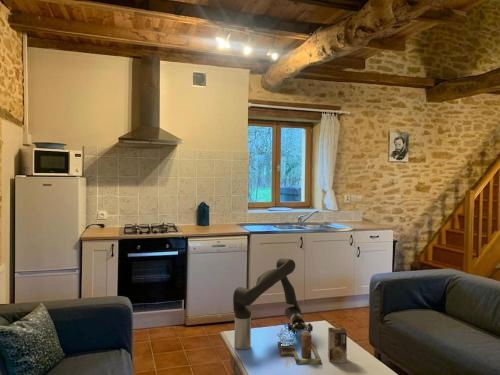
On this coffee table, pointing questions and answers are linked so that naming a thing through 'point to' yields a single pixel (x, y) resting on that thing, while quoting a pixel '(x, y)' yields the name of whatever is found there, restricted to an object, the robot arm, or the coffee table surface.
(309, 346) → the walnut block
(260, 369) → the coffee table surface
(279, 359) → the coffee table surface
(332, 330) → the coffee box
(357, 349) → the coffee table surface
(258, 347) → the coffee table surface
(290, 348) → the trap lane
